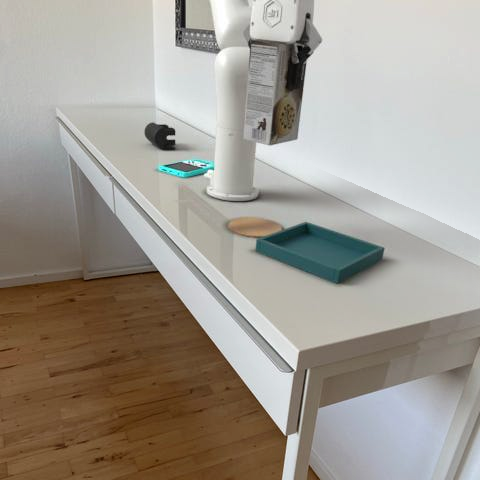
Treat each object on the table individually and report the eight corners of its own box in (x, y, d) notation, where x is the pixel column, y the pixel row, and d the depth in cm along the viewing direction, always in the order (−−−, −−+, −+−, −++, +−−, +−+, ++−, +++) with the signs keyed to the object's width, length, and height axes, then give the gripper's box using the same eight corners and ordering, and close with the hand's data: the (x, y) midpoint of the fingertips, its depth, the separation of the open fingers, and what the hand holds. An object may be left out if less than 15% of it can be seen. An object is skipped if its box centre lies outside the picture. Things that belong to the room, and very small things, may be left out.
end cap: (144, 144, 166) (143, 122, 163) (164, 143, 170) (164, 122, 166) (154, 150, 159) (154, 127, 156) (175, 150, 162) (176, 127, 159)
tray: (255, 251, 92) (256, 238, 91) (304, 232, 103) (305, 221, 102) (337, 283, 83) (339, 270, 82) (382, 259, 93) (384, 247, 92)
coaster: (217, 225, 103) (217, 224, 103) (252, 215, 110) (252, 214, 110) (258, 241, 97) (258, 240, 97) (292, 229, 104) (292, 228, 104)
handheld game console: (222, 168, 145) (222, 164, 144) (184, 178, 133) (185, 172, 132) (196, 162, 150) (196, 157, 149) (157, 170, 138) (157, 165, 137)
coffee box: (270, 134, 99) (280, 40, 90) (298, 140, 95) (310, 43, 87) (241, 139, 92) (248, 38, 84) (269, 146, 89) (280, 41, 81)
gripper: (231, -41, 82) (225, 80, 91) (321, -41, 73) (303, 94, 82) (260, -35, 87) (252, 79, 96) (347, -34, 78) (328, 92, 87)
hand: (276, 85), depth 89 cm, fingers closed on coffee box, 6 cm apart
